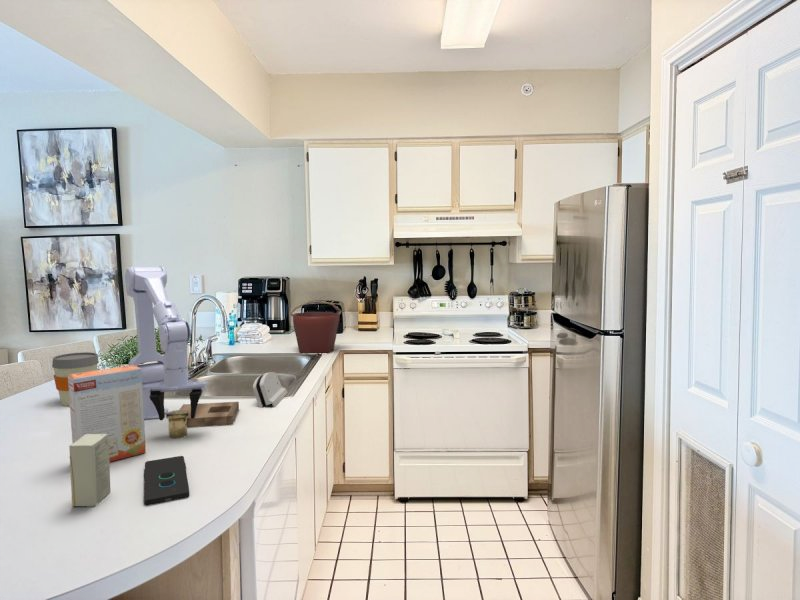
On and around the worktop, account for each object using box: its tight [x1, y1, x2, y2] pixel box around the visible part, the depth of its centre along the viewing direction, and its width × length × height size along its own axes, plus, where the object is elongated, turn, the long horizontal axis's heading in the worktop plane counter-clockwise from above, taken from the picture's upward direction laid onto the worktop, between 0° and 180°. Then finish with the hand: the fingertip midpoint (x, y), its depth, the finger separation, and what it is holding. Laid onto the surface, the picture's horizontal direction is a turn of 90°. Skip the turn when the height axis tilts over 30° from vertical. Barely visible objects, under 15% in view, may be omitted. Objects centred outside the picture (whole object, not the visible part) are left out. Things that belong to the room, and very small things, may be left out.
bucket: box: [290, 300, 343, 354], centre depth 246 cm, size 24×22×25 cm
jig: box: [178, 401, 240, 428], centre depth 145 cm, size 16×14×2 cm
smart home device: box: [143, 455, 190, 507], centre depth 105 cm, size 8×2×20 cm
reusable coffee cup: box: [51, 351, 99, 407], centre depth 161 cm, size 13×12×15 cm
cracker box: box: [68, 365, 147, 463], centre depth 116 cm, size 14×6×21 cm, turn 134°
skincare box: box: [68, 434, 112, 507], centre depth 96 cm, size 6×4×12 cm
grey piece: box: [252, 371, 288, 408], centre depth 164 cm, size 17×5×10 cm, turn 178°
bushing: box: [165, 409, 189, 439], centre depth 131 cm, size 5×5×6 cm
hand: (177, 418), depth 131 cm, fingers open, 7 cm apart
